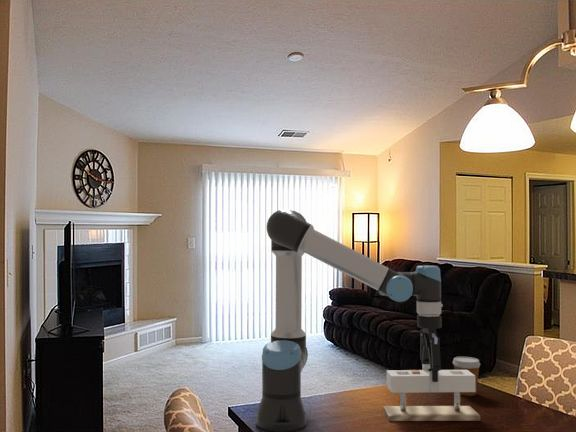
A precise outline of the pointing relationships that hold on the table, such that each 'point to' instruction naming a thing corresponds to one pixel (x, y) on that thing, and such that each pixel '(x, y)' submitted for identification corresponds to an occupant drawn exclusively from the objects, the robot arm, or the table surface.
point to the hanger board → (431, 413)
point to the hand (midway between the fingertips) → (430, 388)
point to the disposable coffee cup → (469, 365)
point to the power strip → (420, 381)
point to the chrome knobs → (456, 402)
